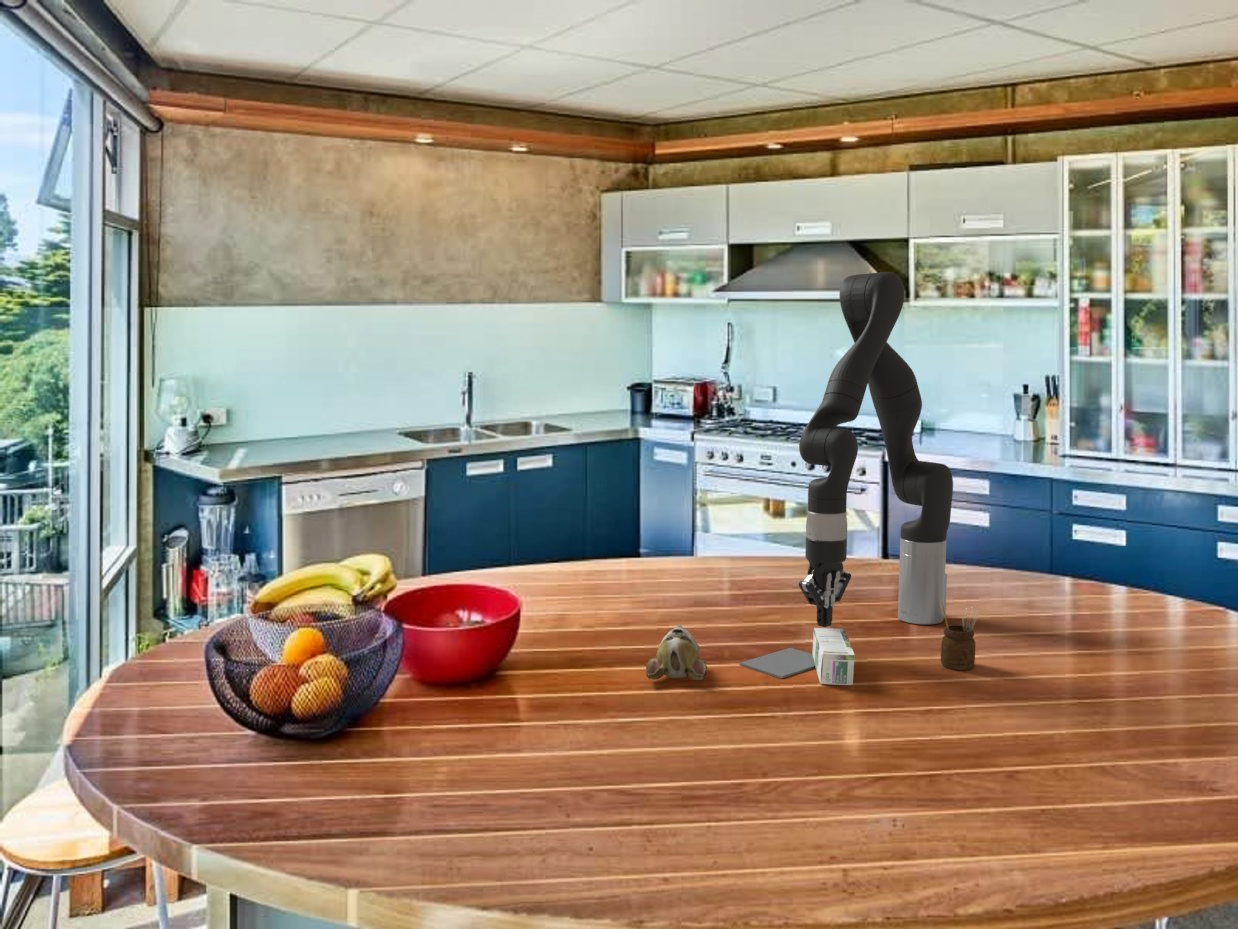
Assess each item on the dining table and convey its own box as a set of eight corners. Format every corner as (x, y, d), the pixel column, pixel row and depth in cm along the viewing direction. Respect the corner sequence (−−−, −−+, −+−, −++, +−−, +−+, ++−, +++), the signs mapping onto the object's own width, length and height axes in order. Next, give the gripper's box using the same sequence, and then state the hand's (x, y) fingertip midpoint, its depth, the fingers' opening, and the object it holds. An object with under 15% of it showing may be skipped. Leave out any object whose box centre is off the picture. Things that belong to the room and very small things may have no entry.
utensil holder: (976, 672, 191) (979, 606, 189) (939, 669, 192) (942, 604, 191) (972, 661, 197) (975, 598, 195) (937, 659, 198) (939, 596, 196)
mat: (790, 649, 204) (790, 647, 204) (832, 662, 197) (832, 660, 197) (739, 665, 196) (739, 662, 195) (781, 678, 188) (781, 676, 188)
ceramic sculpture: (708, 616, 196) (706, 646, 181) (708, 661, 197) (706, 694, 183) (650, 615, 197) (643, 644, 182) (651, 660, 198) (644, 692, 184)
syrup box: (842, 657, 198) (855, 686, 184) (810, 656, 199) (820, 685, 184) (844, 628, 197) (856, 654, 183) (812, 626, 198) (822, 653, 183)
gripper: (833, 527, 205) (830, 615, 208) (787, 536, 197) (785, 628, 199) (865, 533, 200) (862, 623, 202) (819, 543, 191) (817, 637, 194)
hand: (824, 625), depth 201 cm, fingers closed
